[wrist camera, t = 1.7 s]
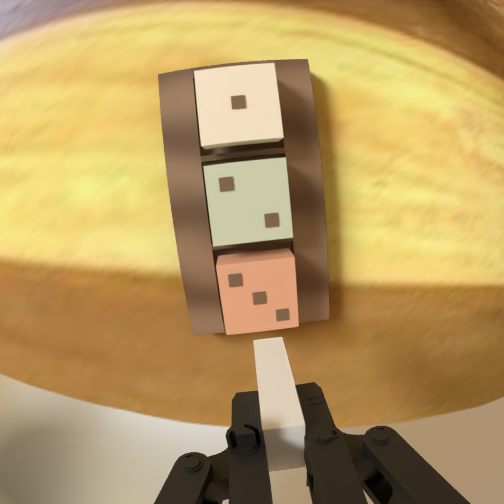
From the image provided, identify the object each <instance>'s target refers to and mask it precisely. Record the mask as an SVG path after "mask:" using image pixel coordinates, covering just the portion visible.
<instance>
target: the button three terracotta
mask: <svg viewBox="0 0 504 504" xmlns="http://www.w3.org/2000/svg"><path fill="white" fill-rule="evenodd" d="M216 269H217V276H218V283H219V290H220V297H221V303H222V310H223V316H224V323H225V329H226V335H232V334H242V333H251V332H260V331H268V330H276V329H284V328H292V327H299V321H298V302H297V286H296V271H295V257H294V255H293V254H292V252H291V251H290V249H289V248H283V249H274V250H265V251H256V252H247V253H239V254H230V255H221V256H218V259H217V264H216Z"/></svg>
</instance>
